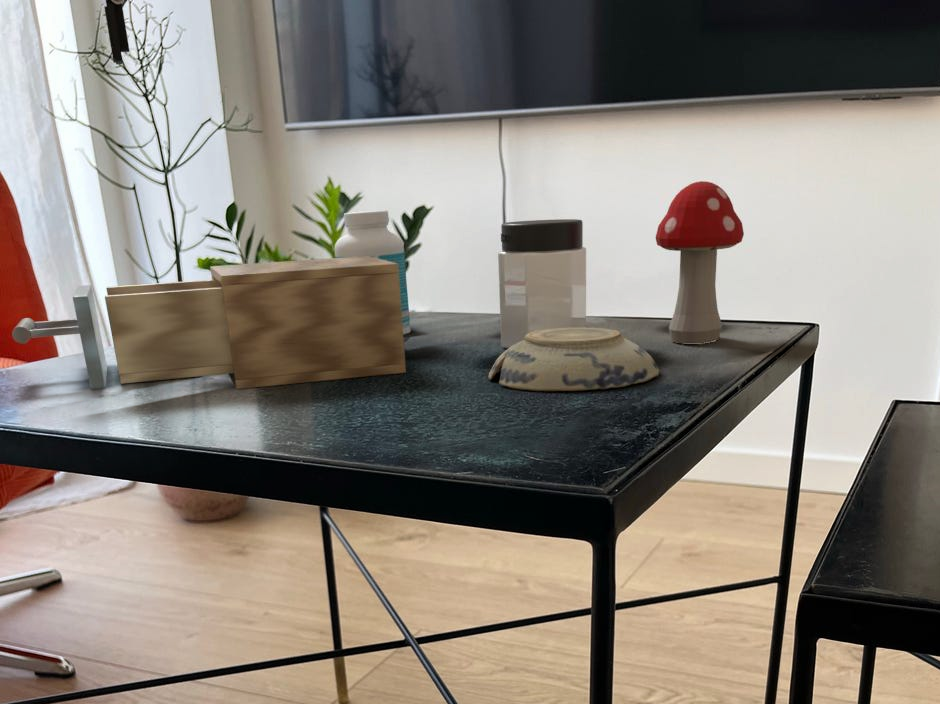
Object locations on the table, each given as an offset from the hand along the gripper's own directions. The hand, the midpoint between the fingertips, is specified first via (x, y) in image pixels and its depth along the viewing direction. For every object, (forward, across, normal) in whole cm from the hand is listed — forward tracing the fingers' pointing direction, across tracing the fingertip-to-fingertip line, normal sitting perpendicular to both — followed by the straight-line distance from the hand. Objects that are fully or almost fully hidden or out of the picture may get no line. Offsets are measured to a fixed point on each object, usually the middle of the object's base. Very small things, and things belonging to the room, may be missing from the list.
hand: (57, 63), depth 83 cm
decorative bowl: (+26, -39, +17) cm, 50 cm away
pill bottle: (+26, -28, -12) cm, 40 cm away
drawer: (+25, -3, +1) cm, 26 cm away
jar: (+26, -42, 0) cm, 50 cm away
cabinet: (+26, -18, +1) cm, 32 cm away
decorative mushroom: (+26, -57, +5) cm, 63 cm away
